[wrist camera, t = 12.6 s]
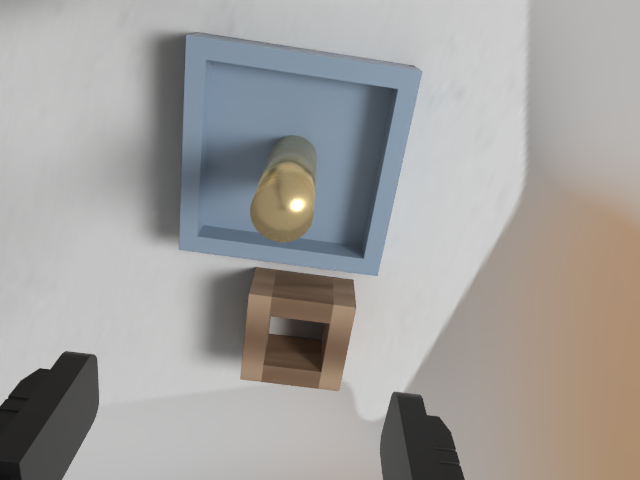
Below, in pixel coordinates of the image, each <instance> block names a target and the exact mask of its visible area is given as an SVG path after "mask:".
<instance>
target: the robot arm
mask: <svg viewBox="0 0 640 480" xmlns="http://www.w3.org/2000/svg"><path fill="white" fill-rule="evenodd" d="M98 405H99V387H98V366H97V357H96V356H95V355H93V354H85V353H77V352H68V351H66V352H64V353H63V354H62V355H61V356H60V357H59V359H58V360H57V361H56V363H55V364H54V365H53V367H52V368H51V369H50V370H49V369H41V368H40V369H38V370H37V371H35V372H34V373H32V374H30V375H29V376H27V377H26V378H24V379H23V380H21V381H20V383H19V384H18V385H17V386H16V387H15V389H14V390H13V391H12V392H11V394H10V395H9V397H8V399H6V400H5V401H4V402H3V404H2V405H1V406H0V480H62V478H63V477H64V475H65V473H66V471H67V469H68V468H69V466H70V464H71V462H72V460H73V459H74V457H75V455H76V453H77V451H78V449H79V448H80V446H81V444H82V442H83V440H84V439H85V437H86V435H87V433H88V431H89V429H90V428H91V426H92V424H93V422H94V419H95V417H96V413H97V410H98ZM455 450H456V448H455V445H454V441H453V438H452V435H451V432H450V431H449V429H448V428H447V427H446V425H445V424H444V423H443V421H442V420H441V419H440V417H437V416H429V415H427V414H426V411H425V407H424V402H423V398H422V396H421V395H418V394H409V393H401V392H393V394H392V396H391V400H390V404H389V407H388V411H387V415H386V419H385V423H384V427H383V430H382V435H381V443H380V456H381V465H382V474H383V480H465V479H464V476H463V472H462V469H461V466H459V463H460V462H459V459H458V456H457V452H456V451H455Z"/></svg>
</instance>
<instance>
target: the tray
mask: <svg viewBox="0 0 640 480" xmlns="http://www.w3.org/2000/svg"><path fill="white" fill-rule="evenodd" d="M421 75H422V71H421V70H419V69H418V68H417V67H415V66H412V65H405V64H399V63H393V62H386V61H380V60H373V59H367V58H360V57H354V56H347V55H341V54H334V53H328V52H322V51H315V50H309V49H302V48H296V47H289V46H283V45H276V44H270V43H264V42H257V41H251V40H244V39H238V38H231V37H225V36H218V35H212V34H206V33H199V32H197V33H192V34H188V35H186V51H185V81H184V111H183V141H182V171H181V201H180V231H179V250H185V251H192V252H200V253H207V254H215V255H222V256H230V257H237V258H245V259H252V260H260V261H268V262H275V263H283V264H290V265H298V266H305V267H313V268H320V269H328V270H335V271H343V272H350V273H358V274H365V275H373V276H378V271H379V267H380V262H381V258H382V253H383V248H384V244H385V239H386V235H387V230H388V226H389V221H390V217H391V212H392V207H393V203H394V198H395V194H396V189H397V185H398V180H399V175H400V171H401V166H402V162H403V157H404V153H405V148H406V143H407V139H408V134H409V130H410V125H411V121H412V116H413V112H414V107H415V102H416V98H417V93H418V89H419V84H420V80H421ZM291 135H295V136H300V137H303V138H305V139H306V140H308V141H309V142H310V143H311V144H312V145H313V147H314V148H315V151H316V154H317V169H316V185H315V201H314V216H313V221H312V224H311V226H310V228H309V230H308V231H307V232H306V233H305V234H304V235H303V236H302V237H300V238H298V239H296V240H294V241H290V242H276V241H272V240H269V239H267V238H265V237H264V236H262V235H261V234H260V233H259V232H258V231H257V230H256V228H255V227H254V225H253V223H252V221H251V217H250V206H251V203H252V200H253V197H254V195H255V192H256V189H257V187H258V184H259V182H260V179H261V176H262V174H263V171H264V168H265V166H266V163H267V160H268V158H269V155H270V153H271V150H272V148H273V146H274V145H275V143H276V142H277V141H278V140H280V139H281V138H283V137H286V136H291Z"/></svg>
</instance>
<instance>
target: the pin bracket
mask: <svg viewBox="0 0 640 480" xmlns="http://www.w3.org/2000/svg"><path fill="white" fill-rule="evenodd" d="M355 311H356V302H355V292H354V282H353V280H349V279H342V278H334V277H326V276H319V275H311V274H304V273H296V272H289V271H281V270H274V269H266V268H258V267H256V269H255V273H254V276H253V280H252V284H251V288H250V292H249V298H248V308H247V318H246V328H245V338H244V348H243V358H242V367H241V377H240V379H242V380H250V381H259V382H267V383H275V384H284V385H292V386H300V387H309V388H317V389H326V390H333V391H339V389H340V384H341V379H342V374H343V369H344V364H345V360H346V355H347V350H348V345H349V340H350V335H351V330H352V325H353V321H354V316H355ZM271 316H274V317H282V318H289V319H297V320H305V321H313V322H321V323H325V325H324V331H323V336H322V340H314V339H306V338H298V337H290V336H282V335H274V334H269V327H270V319H271Z"/></svg>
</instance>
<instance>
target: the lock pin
mask: <svg viewBox="0 0 640 480" xmlns="http://www.w3.org/2000/svg"><path fill="white" fill-rule="evenodd" d="M316 169H317V154H316V151H315V148H314V147H313V145H312V144H311V143H310V142H309V141H308V140H306V139H305V138H303V137H300V136H295V135H291V136H286V137H283V138H281V139H280V140H278V141H277V142H276V143H275V145H274V146H273V148H272V150H271V153H270V155H269V158H268V160H267V163H266V166H265V168H264V171H263V174H262V176H261V179H260V182H259V184H258V187H257V189H256V192H255V195H254V197H253V200H252V203H251V206H250V217H251V221H252V223H253V225H254V227H255V228H256V230H257V231H258V232H259V233H260V234H261V235H262V236H264V237H265V238H267V239H269V240H272V241H276V242H290V241H294V240H296V239H298V238H300V237H302V236H303V235H304V234H305V233H306V232H307V231H308V230H309V228H310V226H311V224H312V221H313V216H314V201H315V185H316Z"/></svg>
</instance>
